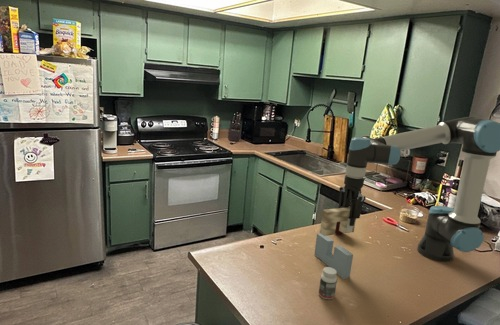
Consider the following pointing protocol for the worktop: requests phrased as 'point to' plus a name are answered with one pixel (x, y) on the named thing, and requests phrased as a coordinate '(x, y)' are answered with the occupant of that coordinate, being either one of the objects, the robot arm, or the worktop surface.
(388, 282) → the worktop surface
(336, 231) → the mug
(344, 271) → the slate notched block
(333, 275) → the pill bottle
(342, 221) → the beige flat block
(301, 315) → the worktop surface
